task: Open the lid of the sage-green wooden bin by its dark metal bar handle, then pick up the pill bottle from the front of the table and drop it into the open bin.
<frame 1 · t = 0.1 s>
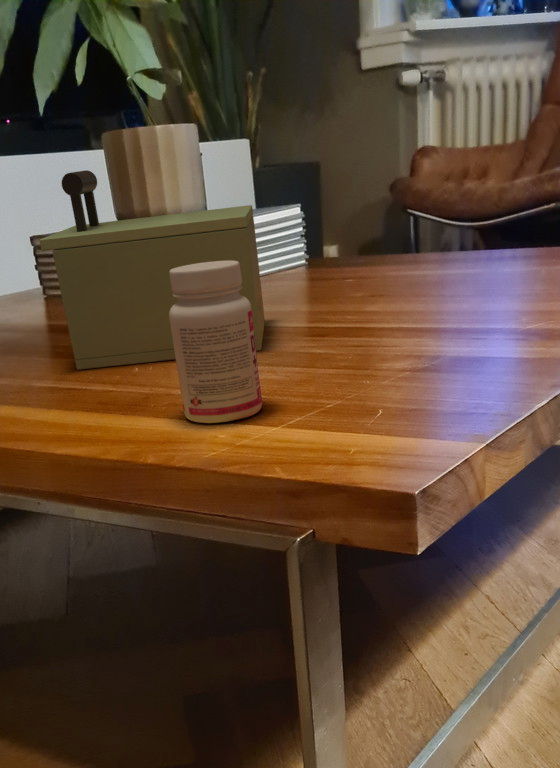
lid: (149, 198, 72), point 11 cm above the table, hinge at 0.0°
bin: (177, 344, 77), on the table
pill bottle: (224, 416, 55), on the table
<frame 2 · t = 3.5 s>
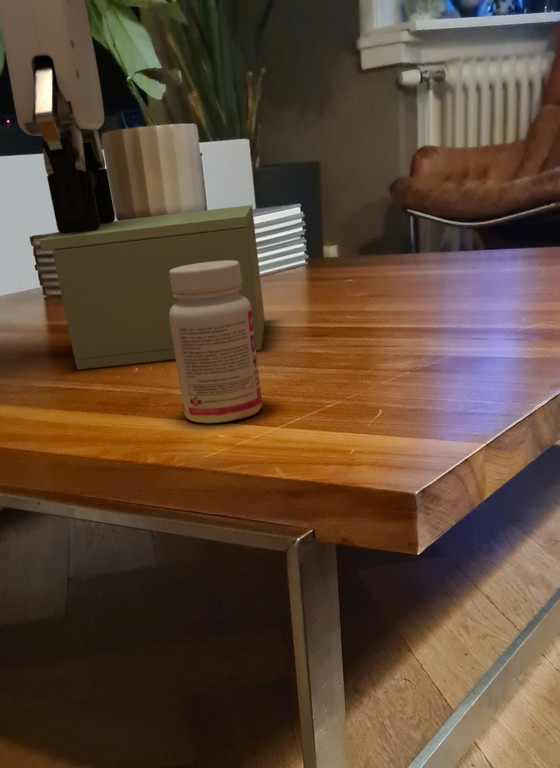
hand: (88, 225, 73), 10 cm above the table, tool pointing down, fingers closed on lid, 6 cm apart
lid: (149, 198, 72), point 11 cm above the table, hinge at 0.0°, touching gripper
everything else where it was.
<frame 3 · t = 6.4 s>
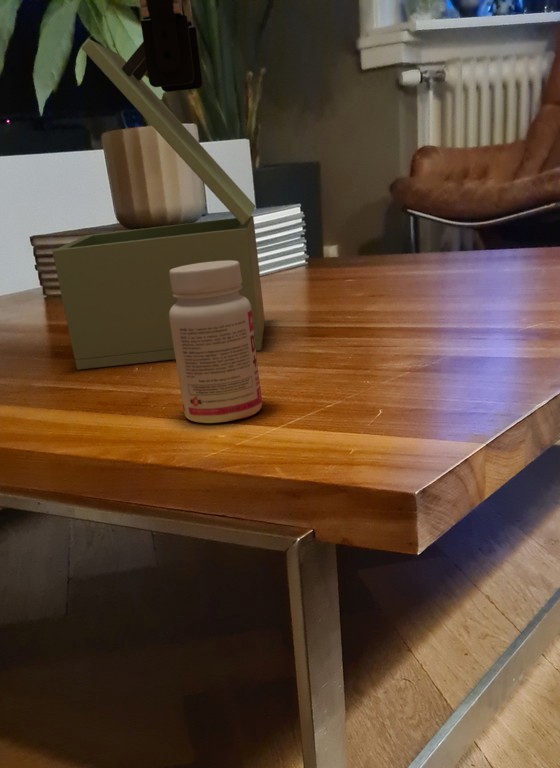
hand: (177, 85, 68), 19 cm above the table, tool pointing down, fingers closed on lid, 6 cm apart
lid: (196, 114, 69), point 17 cm above the table, hinge at 52.0°, touching gripper
everything else where it was.
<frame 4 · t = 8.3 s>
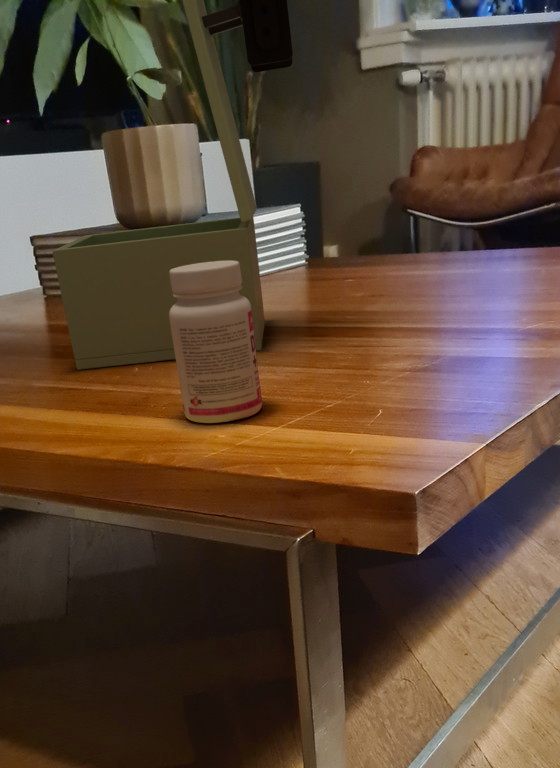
hand: (271, 63, 68), 19 cm above the table, tool pointing down, fingers closed on lid, 6 cm apart
lid: (247, 99, 69), point 17 cm above the table, hinge at 81.0°, touching gripper
everything else where it was.
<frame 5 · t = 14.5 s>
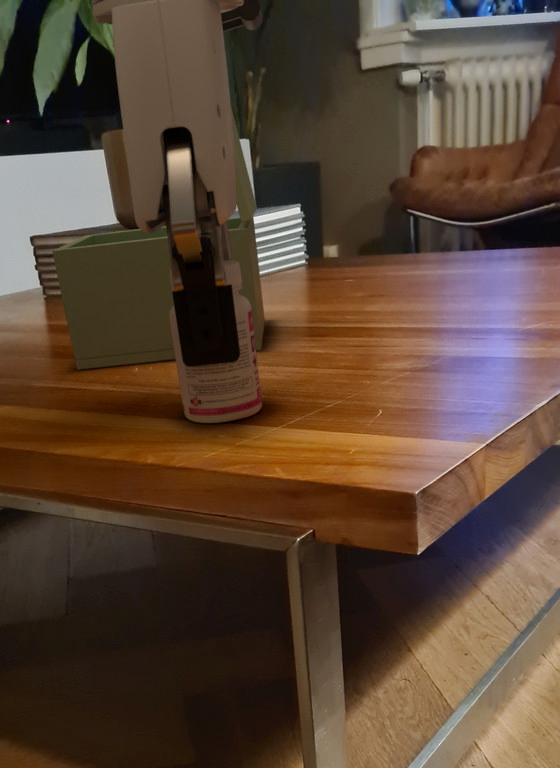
hand: (215, 349, 53), 4 cm above the table, tool pointing down, fingers closed on pill bottle, 4 cm apart
lid: (248, 99, 69), point 17 cm above the table, hinge at 81.2°
pill bottle: (224, 416, 55), on the table, touching gripper
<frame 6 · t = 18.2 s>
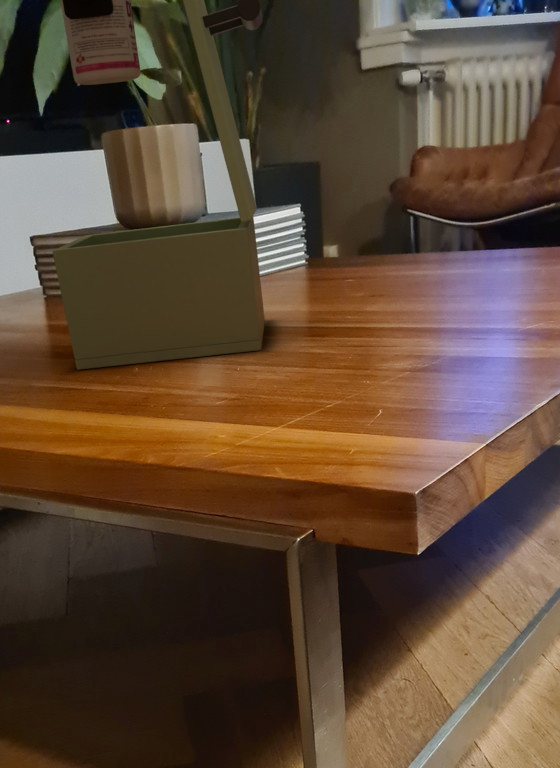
hand: (97, 18, 63), 23 cm above the table, tool pointing down, fingers closed on pill bottle, 4 cm apart
pill bottle: (109, 84, 65), point 19 cm above the table, touching gripper
everything else where it was.
when the fingers open (11 cm above the table, at t = 22.0 s): pill bottle drops 6 cm, resting on bin.
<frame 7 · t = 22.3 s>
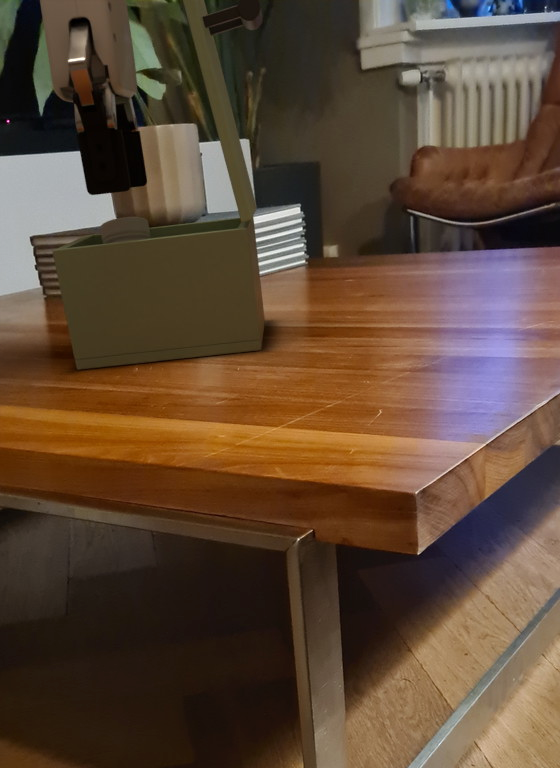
hand: (119, 189, 72), 12 cm above the table, tool pointing down, fingers open, 8 cm apart
pill bottle: (143, 330, 77), point 1 cm above the table, touching bin
everything else where it was.
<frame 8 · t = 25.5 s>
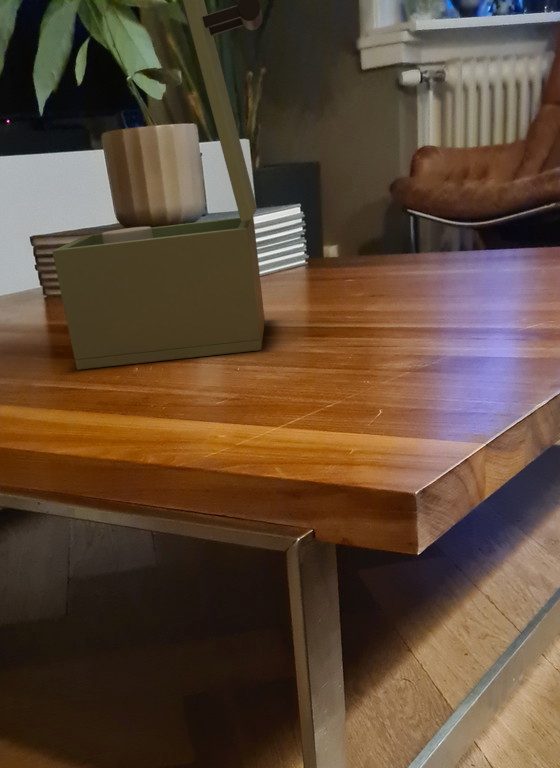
at the end: lid at +81° (first picture: +0°); pill bottle inside the target area in the bin (2.7 cm from its centre), point 0.6 cm above the bin's base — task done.
